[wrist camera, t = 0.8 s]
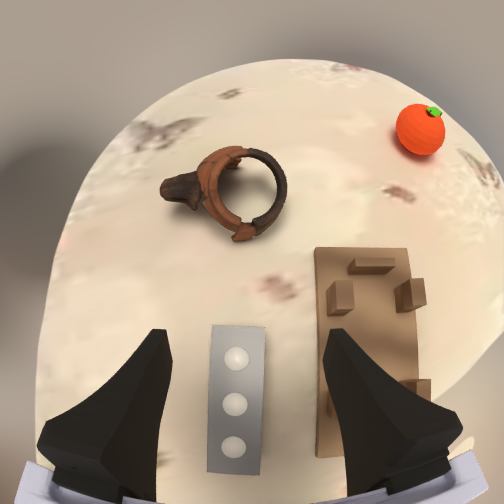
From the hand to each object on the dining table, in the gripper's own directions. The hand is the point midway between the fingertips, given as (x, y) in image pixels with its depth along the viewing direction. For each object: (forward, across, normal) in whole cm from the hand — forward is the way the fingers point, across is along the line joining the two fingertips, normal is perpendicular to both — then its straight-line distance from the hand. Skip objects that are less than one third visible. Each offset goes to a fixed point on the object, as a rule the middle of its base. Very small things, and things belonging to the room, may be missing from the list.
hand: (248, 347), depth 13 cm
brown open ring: (+21, +2, 0) cm, 21 cm away
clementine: (+27, -24, -8) cm, 37 cm away
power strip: (+7, 0, +13) cm, 15 cm away
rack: (+9, -12, +10) cm, 18 cm away
